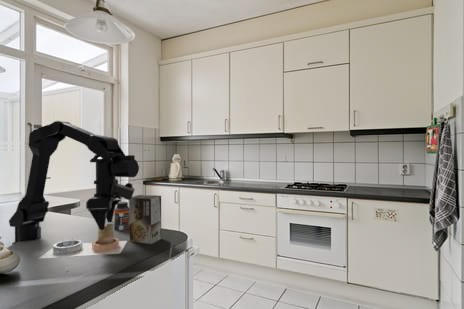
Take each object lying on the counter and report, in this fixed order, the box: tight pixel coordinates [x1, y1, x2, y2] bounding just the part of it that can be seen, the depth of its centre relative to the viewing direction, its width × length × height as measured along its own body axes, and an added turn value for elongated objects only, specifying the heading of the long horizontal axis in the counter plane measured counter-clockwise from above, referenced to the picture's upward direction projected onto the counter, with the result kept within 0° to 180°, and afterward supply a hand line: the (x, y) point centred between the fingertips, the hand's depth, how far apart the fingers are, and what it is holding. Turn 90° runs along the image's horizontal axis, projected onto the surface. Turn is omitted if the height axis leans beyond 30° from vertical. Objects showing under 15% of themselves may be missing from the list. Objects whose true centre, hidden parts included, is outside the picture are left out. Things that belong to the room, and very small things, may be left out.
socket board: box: [38, 240, 128, 260], centre depth 86 cm, size 22×12×1 cm, turn 101°
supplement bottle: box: [113, 201, 130, 232], centre depth 110 cm, size 6×6×11 cm
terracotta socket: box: [91, 237, 120, 252], centre depth 87 cm, size 8×8×2 cm
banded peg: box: [97, 223, 114, 245], centre depth 87 cm, size 5×5×7 cm
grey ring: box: [52, 239, 83, 255], centre depth 85 cm, size 8×8×2 cm
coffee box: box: [128, 194, 162, 245], centre depth 95 cm, size 9×6×16 cm
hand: (106, 225), depth 87 cm, fingers open, 9 cm apart
